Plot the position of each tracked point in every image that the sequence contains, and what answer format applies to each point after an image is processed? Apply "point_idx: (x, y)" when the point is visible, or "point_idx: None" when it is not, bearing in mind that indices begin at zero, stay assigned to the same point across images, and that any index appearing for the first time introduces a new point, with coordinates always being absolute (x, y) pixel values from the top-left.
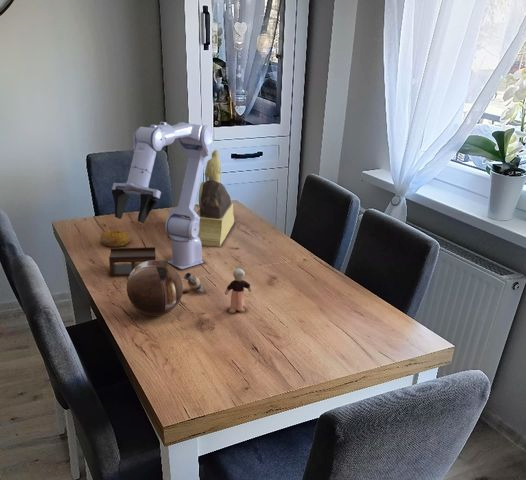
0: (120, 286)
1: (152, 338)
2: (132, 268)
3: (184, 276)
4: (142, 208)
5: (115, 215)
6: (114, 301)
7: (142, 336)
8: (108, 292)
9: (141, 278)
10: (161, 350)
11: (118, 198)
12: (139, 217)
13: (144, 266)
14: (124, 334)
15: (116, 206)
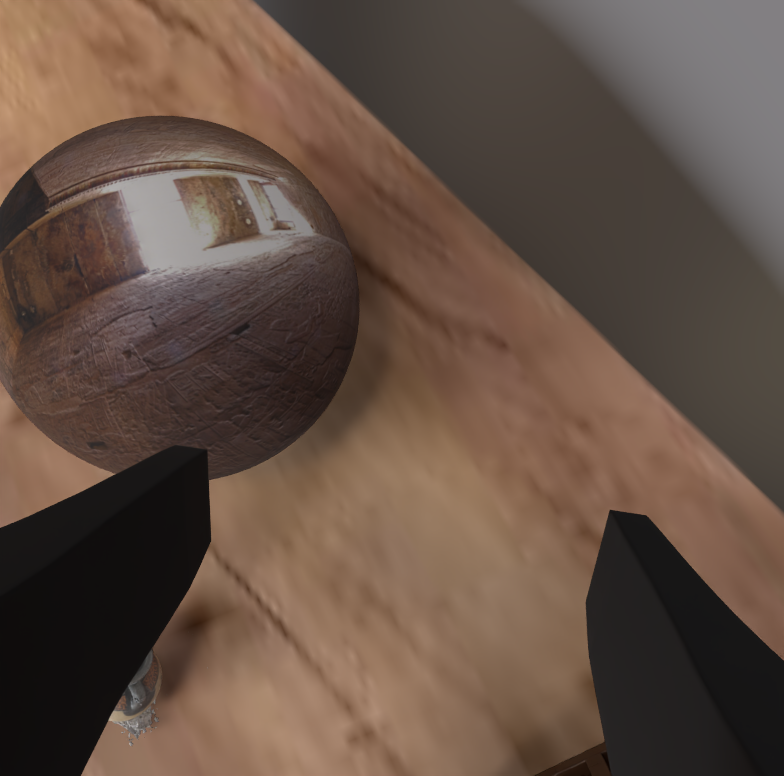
0: (583, 566)
1: (153, 105)
2: (604, 770)
3: (149, 657)
4: (29, 525)
5: (642, 521)
6: (509, 371)
7: (201, 103)
8: (604, 463)
9: (155, 123)
10: (78, 34)
11: (721, 735)
12: (155, 459)
13: (141, 183)
14: (285, 86)
15: (685, 603)
